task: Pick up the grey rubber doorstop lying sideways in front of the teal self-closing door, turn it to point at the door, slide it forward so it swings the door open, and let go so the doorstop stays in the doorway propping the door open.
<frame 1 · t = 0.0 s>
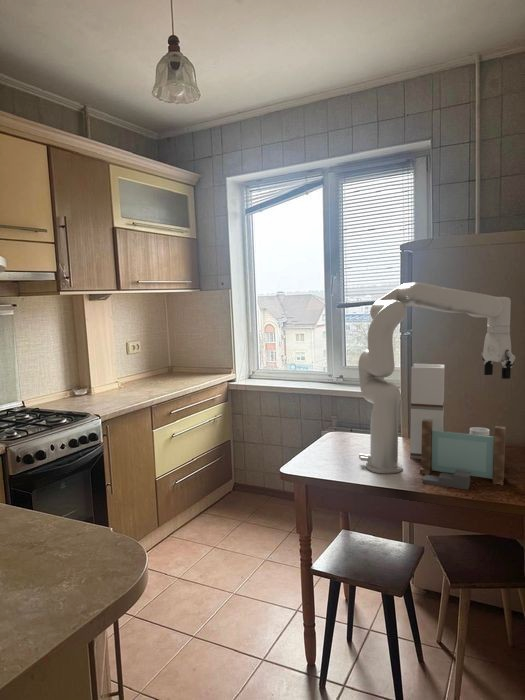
hand: (496, 376, 185), 31 cm above the table, tool pointing down, fingers open, 9 cm apart
doorstop: (446, 484, 163), on the table
door: (461, 453, 170), point 8 cm above the table, hinge at 0.0°
white block: (426, 456, 193), on the table
door frame: (461, 475, 170), on the table
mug: (480, 460, 187), on the table
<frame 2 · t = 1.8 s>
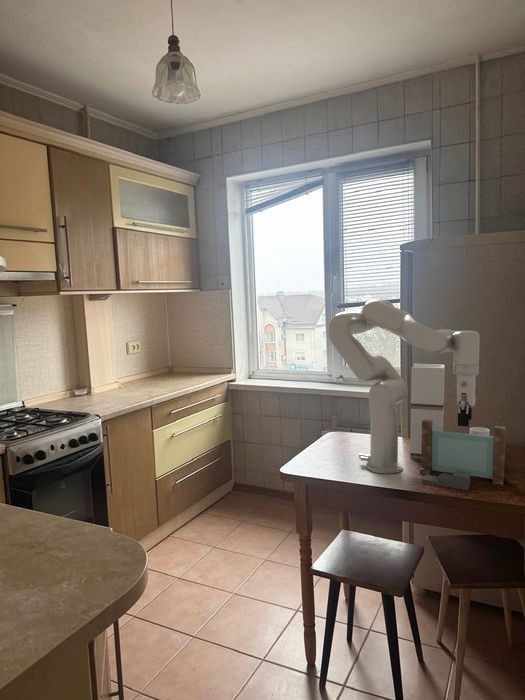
hand: (464, 422, 160), 21 cm above the table, tool pointing down, fingers open, 9 cm apart
nothing on the table moved.
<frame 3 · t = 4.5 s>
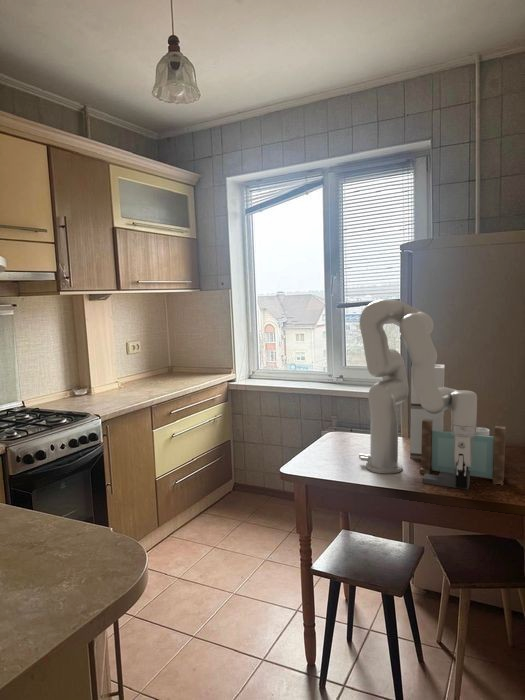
hand: (462, 484, 161), 1 cm above the table, tool pointing down, fingers closed on doorstop, 5 cm apart
doorstop: (445, 483, 163), on the table, touching gripper
everything else where it was.
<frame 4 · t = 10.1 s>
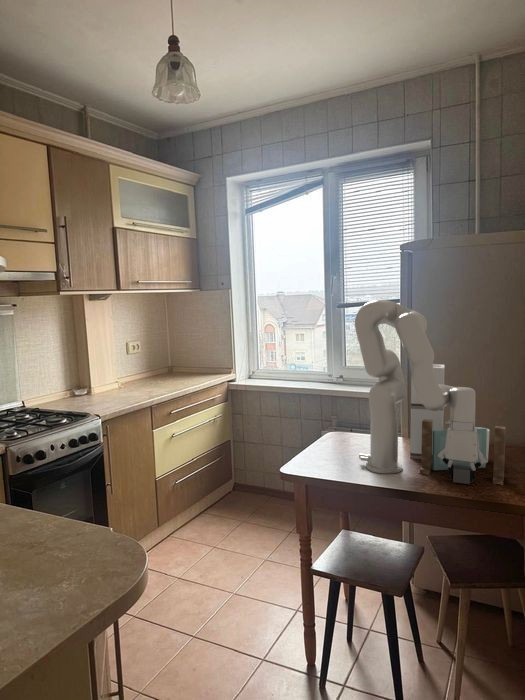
hand: (461, 479, 164), 1 cm above the table, tool pointing down, fingers closed on doorstop, 5 cm apart
doorstop: (461, 476, 168), on the table, touching door, gripper
door: (459, 448, 176), point 8 cm above the table, hinge at 35.3°, touching doorstop
everything else where it was.
when the fingers open (1 cm above the table, at t = 11.6 s): doorstop moves 2 cm, on the table.
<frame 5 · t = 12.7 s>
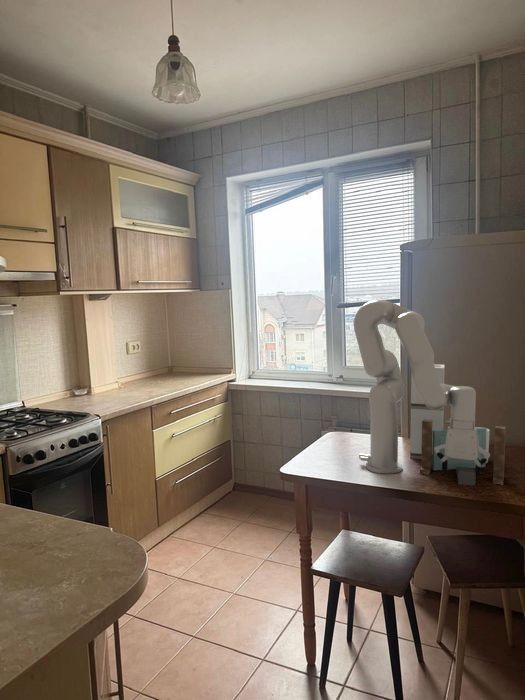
hand: (460, 474, 165), 2 cm above the table, tool pointing down, fingers open, 9 cm apart
doorstop: (465, 478, 168), on the table
door: (459, 448, 176), point 8 cm above the table, hinge at 36.3°
everything else where it was.
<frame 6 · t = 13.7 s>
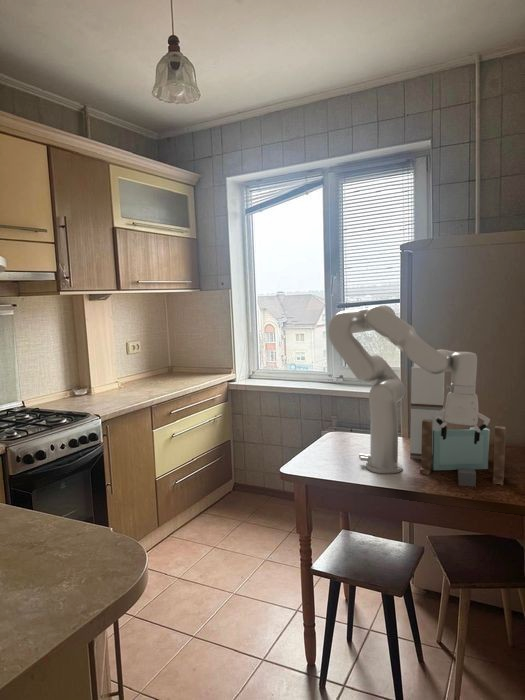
hand: (459, 440, 164), 13 cm above the table, tool pointing down, fingers open, 9 cm apart
door: (460, 449, 175), point 8 cm above the table, hinge at 30.4°
everything else where it was.
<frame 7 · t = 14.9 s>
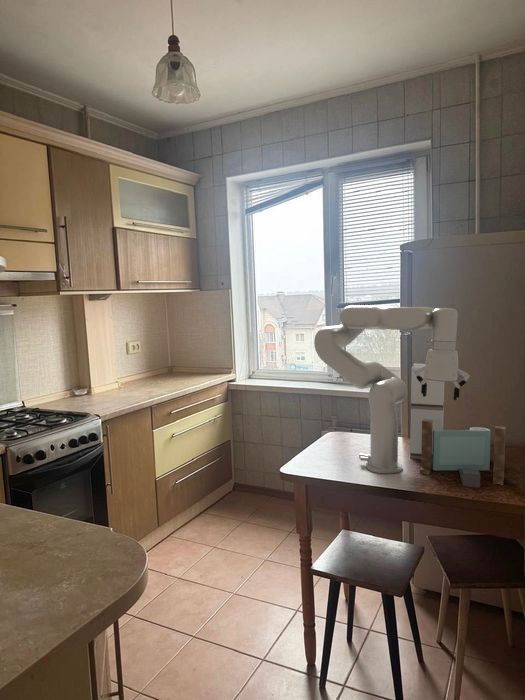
hand: (439, 397, 164), 28 cm above the table, tool pointing down, fingers open, 9 cm apart
doorstop: (468, 480, 167), on the table, touching door
door: (461, 450, 174), point 8 cm above the table, hinge at 26.4°, touching doorstop
everything else where it was.
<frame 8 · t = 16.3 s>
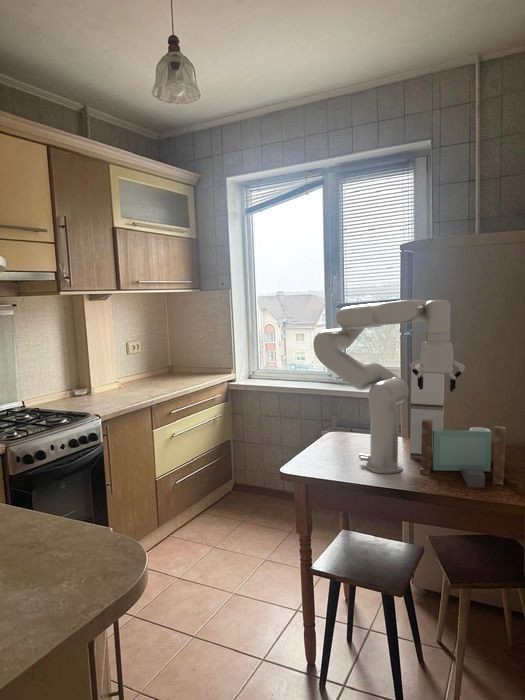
hand: (436, 390, 164), 30 cm above the table, tool pointing down, fingers open, 9 cm apart
doorstop: (471, 480, 166), on the table
door: (461, 450, 173), point 7 cm above the table, hinge at 23.3°
everything else where it was.
at the end: door at +23° (first picture: +0°); doorstop inside the target area (3.4 cm from its centre), on the table; the gripper is holding nothing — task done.
